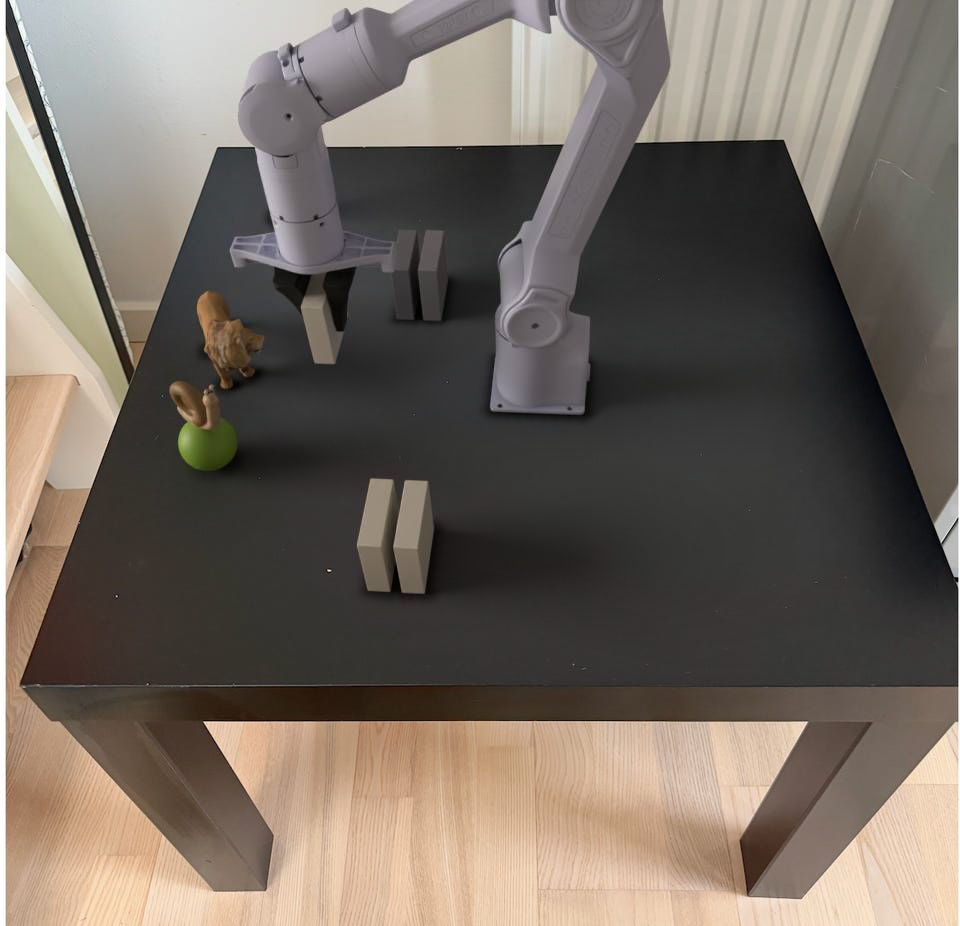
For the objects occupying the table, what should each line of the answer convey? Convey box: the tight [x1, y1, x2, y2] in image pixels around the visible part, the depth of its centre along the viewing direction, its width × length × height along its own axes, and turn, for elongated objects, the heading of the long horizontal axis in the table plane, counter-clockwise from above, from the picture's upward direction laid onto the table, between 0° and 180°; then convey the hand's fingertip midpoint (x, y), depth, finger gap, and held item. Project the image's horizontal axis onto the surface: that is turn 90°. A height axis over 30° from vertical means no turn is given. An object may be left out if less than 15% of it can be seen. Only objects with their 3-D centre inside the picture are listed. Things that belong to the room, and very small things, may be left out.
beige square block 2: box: [394, 479, 435, 595], centre depth 78 cm, size 2×7×7 cm, turn 175°
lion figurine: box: [196, 290, 265, 390], centre depth 94 cm, size 15×5×9 cm, turn 33°
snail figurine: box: [169, 380, 238, 472], centre depth 84 cm, size 5×6×12 cm
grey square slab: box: [390, 229, 421, 321], centre depth 101 cm, size 2×7×7 cm, turn 175°
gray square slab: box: [418, 229, 449, 322], centre depth 100 cm, size 2×7×7 cm, turn 175°
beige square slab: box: [301, 272, 349, 365], centre depth 86 cm, size 2×7×7 cm, turn 175°
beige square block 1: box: [356, 478, 400, 593], centre depth 78 cm, size 2×7×7 cm, turn 175°
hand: (329, 324), depth 87 cm, fingers closed on beige square slab, 2 cm apart
